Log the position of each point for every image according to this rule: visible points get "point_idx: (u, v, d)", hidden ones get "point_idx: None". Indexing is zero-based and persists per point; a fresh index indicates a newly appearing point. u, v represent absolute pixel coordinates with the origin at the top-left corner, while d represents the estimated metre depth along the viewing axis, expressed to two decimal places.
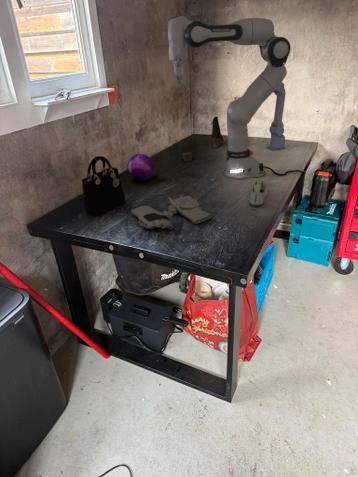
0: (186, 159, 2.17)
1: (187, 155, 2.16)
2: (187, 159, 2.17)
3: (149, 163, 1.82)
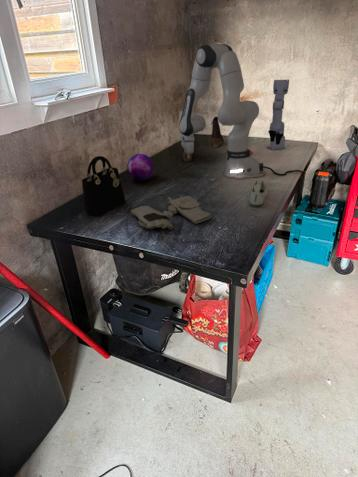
0: (186, 159, 2.17)
1: None
2: (187, 159, 2.17)
3: (149, 163, 1.82)
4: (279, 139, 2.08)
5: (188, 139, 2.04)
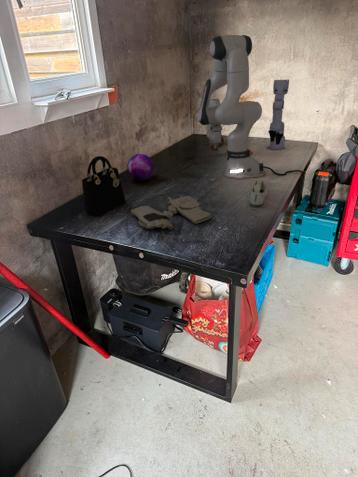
0: (212, 149, 2.19)
1: None
2: (213, 149, 2.19)
3: (149, 163, 1.82)
4: (279, 139, 2.08)
5: (216, 129, 2.06)
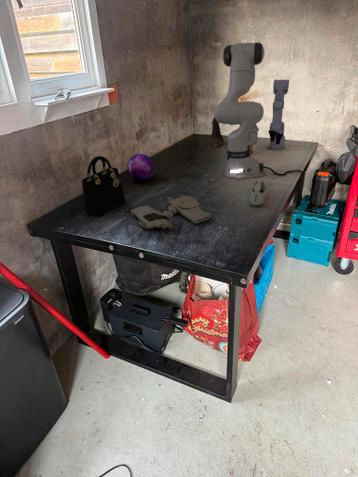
0: None
1: (248, 147, 2.25)
2: None
3: (149, 163, 1.82)
4: (279, 139, 2.08)
5: (253, 130, 2.13)
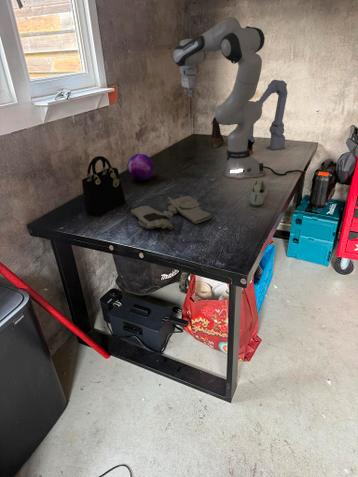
0: None
1: None
2: None
3: (149, 163, 1.82)
4: (250, 146, 2.24)
5: (189, 72, 1.87)
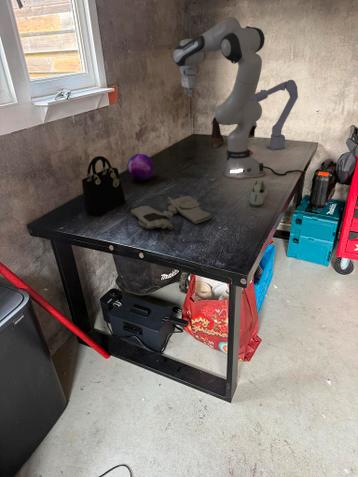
0: (249, 135, 2.31)
1: None
2: (250, 136, 2.31)
3: (149, 163, 1.82)
4: (253, 130, 2.29)
5: (189, 72, 1.87)
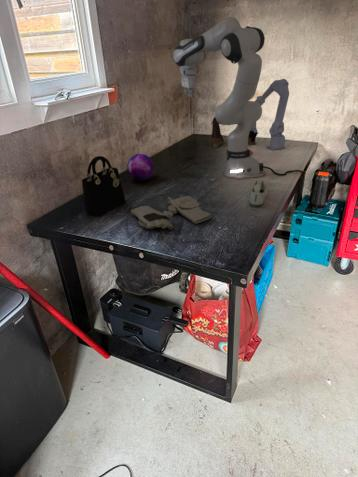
0: (250, 143, 2.44)
1: None
2: (251, 143, 2.44)
3: (149, 163, 1.82)
4: (254, 137, 2.40)
5: (189, 72, 1.87)
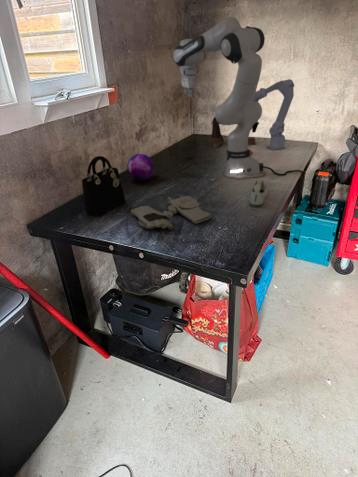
0: (250, 143, 2.44)
1: (251, 139, 2.43)
2: (251, 143, 2.44)
3: (149, 163, 1.82)
4: (255, 127, 2.36)
5: (189, 72, 1.87)
